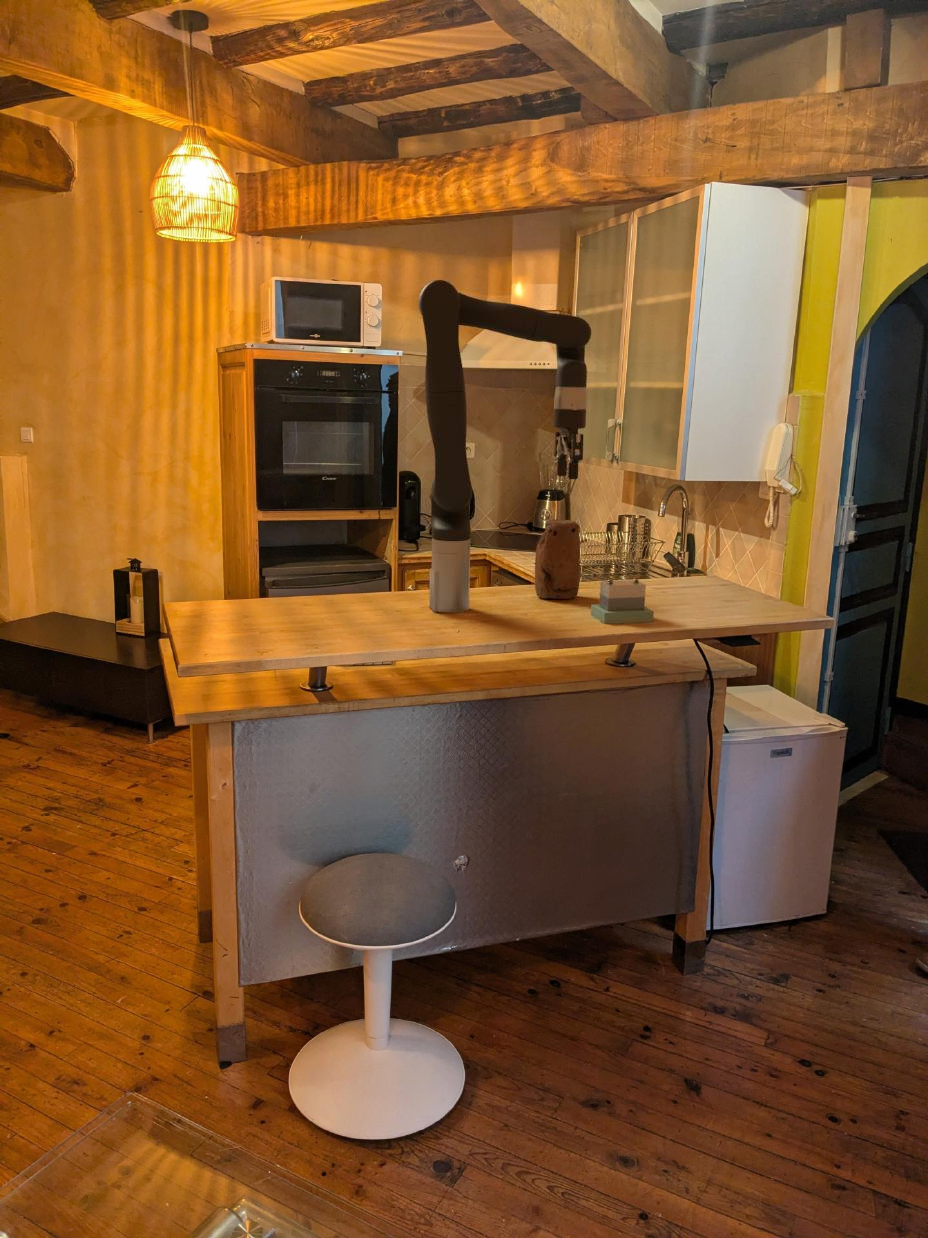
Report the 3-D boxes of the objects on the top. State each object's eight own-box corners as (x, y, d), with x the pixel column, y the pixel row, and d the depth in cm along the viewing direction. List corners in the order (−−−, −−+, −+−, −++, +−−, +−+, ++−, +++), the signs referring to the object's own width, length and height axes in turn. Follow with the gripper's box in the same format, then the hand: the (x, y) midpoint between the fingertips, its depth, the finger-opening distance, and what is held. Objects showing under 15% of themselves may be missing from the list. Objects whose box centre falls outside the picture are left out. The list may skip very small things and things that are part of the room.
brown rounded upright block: (569, 593, 251) (573, 518, 246) (581, 599, 244) (584, 521, 239) (531, 595, 248) (533, 519, 243) (541, 601, 241) (544, 522, 236)
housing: (607, 611, 219) (609, 582, 218) (599, 606, 224) (600, 578, 223) (644, 609, 221) (645, 581, 220) (635, 604, 226) (636, 577, 225)
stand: (604, 623, 218) (604, 612, 217) (590, 615, 226) (591, 604, 226) (653, 621, 220) (653, 611, 220) (638, 613, 229) (638, 603, 228)
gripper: (545, 406, 227) (543, 475, 231) (564, 407, 213) (561, 480, 217) (575, 407, 229) (572, 475, 232) (595, 408, 215) (592, 480, 219)
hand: (567, 477), depth 225 cm, fingers open, 8 cm apart
